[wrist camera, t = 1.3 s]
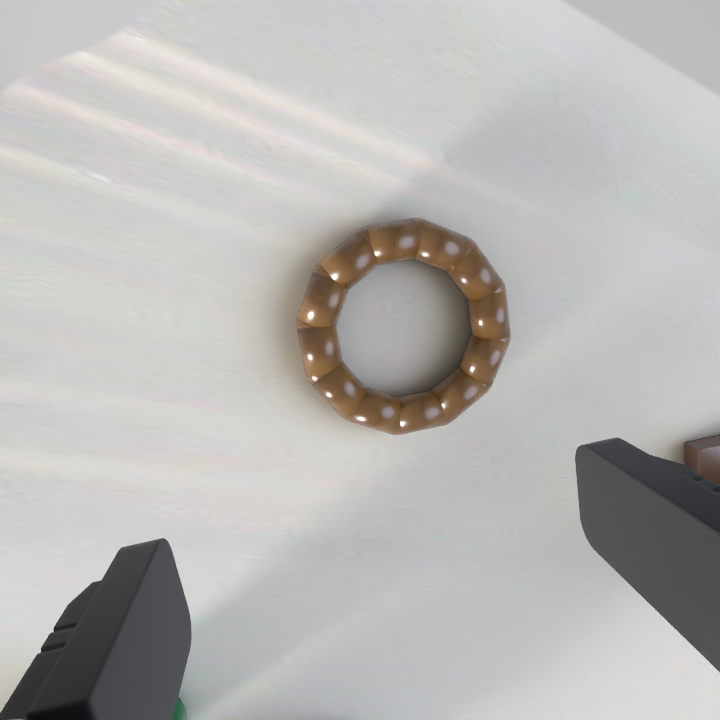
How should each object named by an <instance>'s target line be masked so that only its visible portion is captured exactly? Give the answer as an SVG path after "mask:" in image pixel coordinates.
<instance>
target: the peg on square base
mask: <svg viewBox="0 0 720 720" xmlns="http://www.w3.org/2000/svg"><path fill="white" fill-rule="evenodd" d="M685 466H686V467H688V468H690V469H692V470H693V471H695V472H697V473H699V474H701V475H703V476H704V478H705V479H710V480H712V481H714V482H716V483H717V484H719V485H720V435H717V436H713V437H709V438H704V439H700V440H695V441H691V442H686V443H685Z"/></svg>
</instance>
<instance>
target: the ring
mask: <svg viewBox="0 0 720 720" xmlns="http://www.w3.org/2000/svg"><path fill="white" fill-rule="evenodd" d="M410 259H415V260H418V261H421V262H423V263H426V264H428V265H431V266H433V267H436V268H439V269H441V270H444V271H446V272H447V273H448V274H449V275H450V277H451V278H452V279H453V281H454V282H455V283H456V284H457V286H458V287H459V288H460V290H461V291H462V292H463V294H464V295H465V296H466V298H467V299H468V305H469V313H470V321H471V329H472V336H471V338H470V341H469V343H468V346H467V348H466V351H465V353H464V356H463V358H462V361H461V363H460V366H459V368H458V369H456V370H455V371H454V372H453V373H452V374H451V375H449V376H448V377H447V378H446V379H445V380H443V381H442V382H441V383H440V384H439V385H437V386H436V387H435V388H434V389H433V390H431V391H427V392H422V393H417V394H412V395H407V396H402V397H398V398H397V397H394V396H391V395H388V394H385V393H382V392H379V391H376V390H373V389H370V388H367V387H365V386H364V385H363V384H362V383H361V382H360V381H359V380H358V378H357V377H356V376H355V375H354V374H353V373H352V372H351V370H350V369H349V368H348V367H347V366H346V365H345V364H344V362H343V361H342V357H341V351H340V346H339V340H338V335H337V329H336V324H337V321H338V318H339V315H340V313H341V310H342V307H343V304H344V301H345V299H346V296H347V293H348V290H349V289H350V288H352V287H353V286H354V285H355V284H356V283H357V282H359V281H360V280H361V279H362V278H363V277H364V276H366V275H367V274H368V273H369V272H370V271H372V270H373V269H374V268H375V267H376V266H377V265H382V264H388V263H394V262H399V261H405V260H410ZM296 326H297V332H298V337H299V342H300V347H301V352H302V357H303V362H304V367H305V372H306V376H307V378H308V380H309V381H310V383H311V384H312V385H313V386H314V387H315V388H316V389H317V390H318V391H319V392H320V394H321V395H322V396H323V397H324V398H325V399H326V400H327V401H328V402H329V403H330V405H331V406H332V407H333V408H334V409H335V410H336V411H337V412H338V413H339V415H340V416H341V417H342V418H344V419H345V420H348V421H351V422H354V423H357V424H360V425H363V426H367V427H370V428H373V429H376V430H379V431H383V432H386V433H389V434H393V435H401V434H405V433H410V432H415V431H419V430H424V429H429V428H434V427H438V426H443V425H447V424H449V423H450V422H452V421H453V420H454V419H455V418H457V417H458V416H459V415H460V414H461V413H463V412H464V411H465V410H466V409H467V408H469V407H470V406H471V405H472V404H473V403H475V402H476V401H477V400H478V399H479V398H481V397H482V396H483V395H484V394H485V393H487V392H488V390H489V389H490V388H491V386H492V384H493V381H494V379H495V376H496V374H497V371H498V369H499V367H500V364H501V362H502V359H503V357H504V355H505V352H506V350H507V347H508V345H509V342H510V337H511V335H510V325H509V316H508V306H507V296H506V288H505V284H504V282H503V281H502V279H501V278H500V276H499V275H498V274H497V272H496V271H495V270H494V268H493V267H492V265H491V264H490V263H489V261H488V260H487V259H486V257H485V256H484V255H483V253H482V252H481V250H480V249H479V248H478V246H477V245H476V244H475V243H474V241H473V240H471V239H470V238H468V237H466V236H464V235H461V234H459V233H456V232H454V231H451V230H449V229H446V228H444V227H441V226H439V225H436V224H434V223H431V222H429V221H426V220H424V219H420V218H412V219H406V220H400V221H395V222H389V223H383V224H377V225H371V226H366V227H362V228H360V229H358V230H357V231H356V232H354V233H353V234H352V235H351V236H350V237H349V238H347V239H346V240H345V241H344V242H343V243H342V244H341V245H339V246H338V247H337V248H336V249H335V250H334V251H332V252H331V253H330V254H329V255H328V256H327V257H325V258H324V259H323V260H322V261H321V262H320V263H318V264H317V266H316V267H315V269H314V271H313V274H312V276H311V279H310V282H309V285H308V288H307V291H306V294H305V297H304V300H303V302H302V305H301V308H300V311H299V314H298V317H297V321H296Z"/></svg>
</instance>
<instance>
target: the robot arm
mask: <svg viewBox="0 0 720 720" xmlns="http://www.w3.org/2000/svg"><path fill="white" fill-rule="evenodd" d="M575 462H576V473H577V485H578V497H579V509H580V519H581V524H582V527H583V530H584V533H585V535H586V538H587V539H588V541H589V543H590V545H591V546H592V547H593V549H594V550H595V551H596V552H597V553H598V554H599V555H600V556H601V557H602V558H603V559H604V560H605V561H606V562H607V563H608V564H609V565H610V566H611V567H612V568H614V569H615V570H616V571H617V572H618V573H619V574H620V575H621V576H622V577H623V578H624V579H625V580H626V581H627V582H628V583H629V584H630V585H631V586H632V587H633V588H634V589H635V590H636V591H637V592H638V593H639V594H640V595H641V596H642V597H643V598H644V599H645V600H646V601H647V602H648V603H649V604H650V605H651V606H653V607H654V608H655V609H656V610H657V611H658V612H659V613H660V614H661V615H662V616H663V617H664V618H665V619H666V620H667V621H668V622H669V623H670V624H671V625H672V626H673V627H674V628H675V629H676V630H677V631H678V632H679V633H680V634H681V635H682V636H683V637H684V638H685V639H686V640H687V641H688V642H689V643H691V644H692V645H693V646H694V647H695V648H696V649H697V650H698V651H699V652H700V653H701V654H702V655H703V656H704V657H705V658H706V659H707V660H708V661H709V662H710V663H711V664H712V665H713V666H714V667H715V668H716V669H717V670H718V671H719V672H720V485H719V484H717V483H716V482H714V481H712V480H710V479H705V478H704V476H703V475H701V474H699V473H697V472H695V471H693V470H692V469H690V468H688V467H686V466H684V465H682V464H680V463H676V462H673V461H669V460H666V459H662V458H659V457H655V456H652V455H649V454H647V453H645V452H644V451H642V450H640V449H638V448H636V447H635V446H633V445H631V444H629V443H628V442H626V441H624V440H622V439H620V438H612V439H608V440H603V441H599V442H594V443H590V444H585V445H581V446H579V447H578V448H577V450H576V455H575ZM190 646H191V620H190V614H189V609H188V606H187V602H186V599H185V595H184V592H183V588H182V585H181V581H180V578H179V574H178V571H177V567H176V564H175V560H174V556H173V553H172V550H171V547H170V545H169V543H168V541H167V540H166V539H164V538H162V539H157V540H153V541H149V542H144V543H140V544H135V545H131V546H126V547H122V548H121V549H120V550H119V551H118V553H117V554H116V556H115V558H114V560H113V561H112V563H111V565H110V567H109V568H108V570H107V572H106V574H105V576H104V577H103V579H102V580H101V581H97V582H93V583H91V584H90V585H89V586H88V587H87V588H86V589H85V590H84V591H83V592H82V593H81V594H79V595H78V596H77V597H76V598H75V599H74V600H73V601H72V602H71V603H70V604H69V605H68V606H67V608H66V609H65V611H64V612H63V614H62V615H61V617H60V619H59V620H58V622H57V623H56V625H55V627H54V632H53V633H50V635H49V636H48V638H47V639H46V641H45V643H44V644H43V646H42V647H41V653H39V654H37V655H36V657H35V659H34V660H33V662H32V663H31V665H30V667H29V668H28V670H27V671H26V673H25V675H24V676H23V678H22V679H21V681H20V683H19V684H18V686H17V687H16V689H15V691H14V692H13V694H12V695H11V697H10V699H9V700H8V702H7V703H6V705H5V707H4V708H3V710H2V711H1V713H0V720H172V719H173V715H174V711H175V707H176V703H177V699H178V695H179V691H180V687H181V683H182V679H183V675H184V671H185V667H186V663H187V659H188V655H189V651H190Z"/></svg>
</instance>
